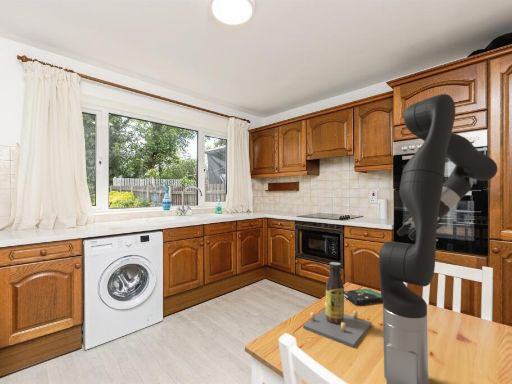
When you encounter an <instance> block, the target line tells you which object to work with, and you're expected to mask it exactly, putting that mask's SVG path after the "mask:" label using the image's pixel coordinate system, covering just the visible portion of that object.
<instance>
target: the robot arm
mask: <svg viewBox="0 0 512 384" xmlns="http://www.w3.org/2000/svg"><path fill="white" fill-rule="evenodd" d="M455 103H456V102H455V101H454V99H453V96H451V95H449V94H446V93H443V94H442V93H441V94H438V95H433V96H432V97H429V98H426V99H423V100H420V101H418V102H416V103H413V104H410V105H408V107H407V108H405V110H404V113H403V121H404V124H405V127H406V128H407V130H408V131H409V132H410V133H411V134H412V135H414V136H415V137H417V138H419V139H420V140H422V141H423V143H422V144H421V146H420V147H419V148H418V150H417V151H416V152H415V153H414V154H413V155H412V156H411V158H410V159H409V160H408V161H407V162H406V164H405V166H404V168H403V169H402V173H401V179H400V184H399V197H400V199H401V201H402V203H403V205H404V207H405V208H406V210H407V212H408V214H409V215H408V216H407V217H406V218H405V219H404V220H403V221H402V222H401V223H402V224H403V225H402V226H401V227H400V228H399V229H398V230H397V231H396V234H398V236H399V237H404V235H406V233H408V231H409V230H411V229H412V228H414V229H413V231H411V232H410V233H409V234H408V236H407V237H408V238H409V239H410V240H411V241H414V243H405V242H399V241H391V240H390V241H386V242H385V243H383V244H382V246H381V248H380V250H379V254H378V270H379V272H378V273H379V281H380V283H379V284H380V294H381V296H382V299H383V302H382V320H383V321H382V323H383V326H382V328H383V335H382V336H383V375H384V379H385V378H386V379H385V380H387V381H386V384H429V355H428V354H429V352H428V351H429V349H428V347H429V346H428V345H429V344H428V343H429V342H428V305H427V302H426V300H425V299H424V298H423V297H421V296H420V295H419V294H417V293H416V292H414V291H412V289H410V288H409V287H408V286H407V285H406V284H410V285H414V286H418V287H422V288H423V287H424V288H425V287H427V286H429V285H430V284H431V283H432V280H433V278H434V274H435V267H436V256H437V253H436V252H437V251H436V249H437V228H438V225H439V224H440V222H442V219H443V218H444V217H445V216H446V215H447V214H448V213H449V212H450V211H451V210H452V209H454V207H456V206H457V204H458V203H459V202H460V201H461V200H462V199H463V198H464V197H465V196H466V195H467V194H468V193H469V192H470V191H471V190H472V185H471V183H470V182H469V181H468V179H465V178H470V179H473V180H476V181H480V182H486V181H490V180H492V179H493V178H494V177H495V176H496V175H497V172H498V165H497V163H496V162H495V160H494V159H492V158H491V157H489V156H488V155H487V154H485V153H484V152H481V151H479V150H478V148H476V146H475V145H474V144H472V142H471V141H470V140H469V139H467V138H466V137H464V136H462V135H460V134H458V133H453V129H454V128H453V127H454V124H455V120H456V119H455V118H456V104H455ZM447 158H448V159H449V161H450V162H452V164H454V165H455V166H454V168H453V170H452V172H451V173H450V175H449V177H448V178H447V179H446V180H445V169H446V163H447V162H446V161H447ZM405 283H406V284H405Z"/></svg>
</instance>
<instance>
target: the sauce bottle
mask: <svg viewBox="0 0 512 384" xmlns="http://www.w3.org/2000/svg"><path fill="white" fill-rule="evenodd" d="M328 265H329V266H328V267H329V276H328V277H327V280H326V283H325V302H326V308H325V307H324V309H325V314H326V319H327V320H328V321H329V322H332V323H340V322H342V321H343V317H344V314H345V298H344V291H345V287H344V281H343V279H342V273H341V270H342V263H341V262H334V261H331V262H329V264H328Z"/></svg>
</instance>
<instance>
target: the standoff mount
mask: <svg viewBox="0 0 512 384" xmlns="http://www.w3.org/2000/svg"><path fill="white" fill-rule="evenodd" d="M325 308H326V301H325V302H324V309H322V310H321V311H320V312H319V313H317V314H315V312H313V311H311V312H310V319H309V320H308V321H307V322H306V323H304V324H303V325H302V328H303V329H304V330H306V331H309V332H311V333H314V334H317V335H320V336H322V337H323V338H328V339H330V340H332V341H334V342H337V343H340V344H343V345H345V346H348V347H350V348H353V349H355V347H356V345H358V343H359V342H360V341H361V340H362V338H363V337H364V336H365V334H366V333H367V331H368V330H369V329H370V328H371V327H372V325H373V323H372V321H369V320H365V319H361V318H359V316H358V311H357V310H352V311H353V313H352V314H353V315H349V314H346V313H344V317H343V321H342V322H340V323H332V322H329V321H328V320H327V319H326V314H325Z"/></svg>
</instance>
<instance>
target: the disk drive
mask: <svg viewBox="0 0 512 384" xmlns="http://www.w3.org/2000/svg"><path fill="white" fill-rule="evenodd" d="M344 297H345V298H346V299H345V298H344V299H345V300H347V301H348V300H349V301H348V302H349V303H351V304H353V305H354V306H356V307H357V306H358V305H360V306H366V305H365V304H367V305H373V303H374V304H379V303H380V304H381V303H382V304H383V299H382V296H381V292H378V291H376V290H373V289H372V288H363V289H354V290H344Z"/></svg>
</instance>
